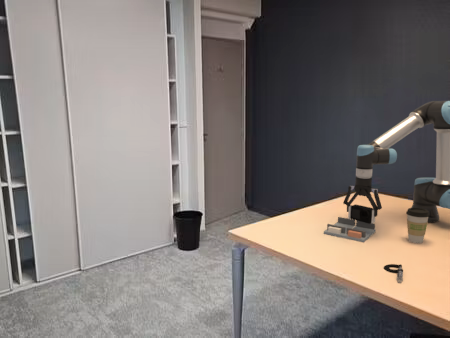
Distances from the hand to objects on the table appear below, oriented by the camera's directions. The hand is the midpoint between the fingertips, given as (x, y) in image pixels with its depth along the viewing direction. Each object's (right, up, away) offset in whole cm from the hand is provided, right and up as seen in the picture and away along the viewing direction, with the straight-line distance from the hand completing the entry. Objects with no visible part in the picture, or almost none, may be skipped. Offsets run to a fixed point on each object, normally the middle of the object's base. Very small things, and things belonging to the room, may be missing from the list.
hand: (361, 220), depth 191 cm
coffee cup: (+23, -9, -9) cm, 26 cm away
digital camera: (0, 0, +1) cm, 1 cm away
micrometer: (-2, -16, -41) cm, 44 cm away
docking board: (-5, -7, +3) cm, 9 cm away
